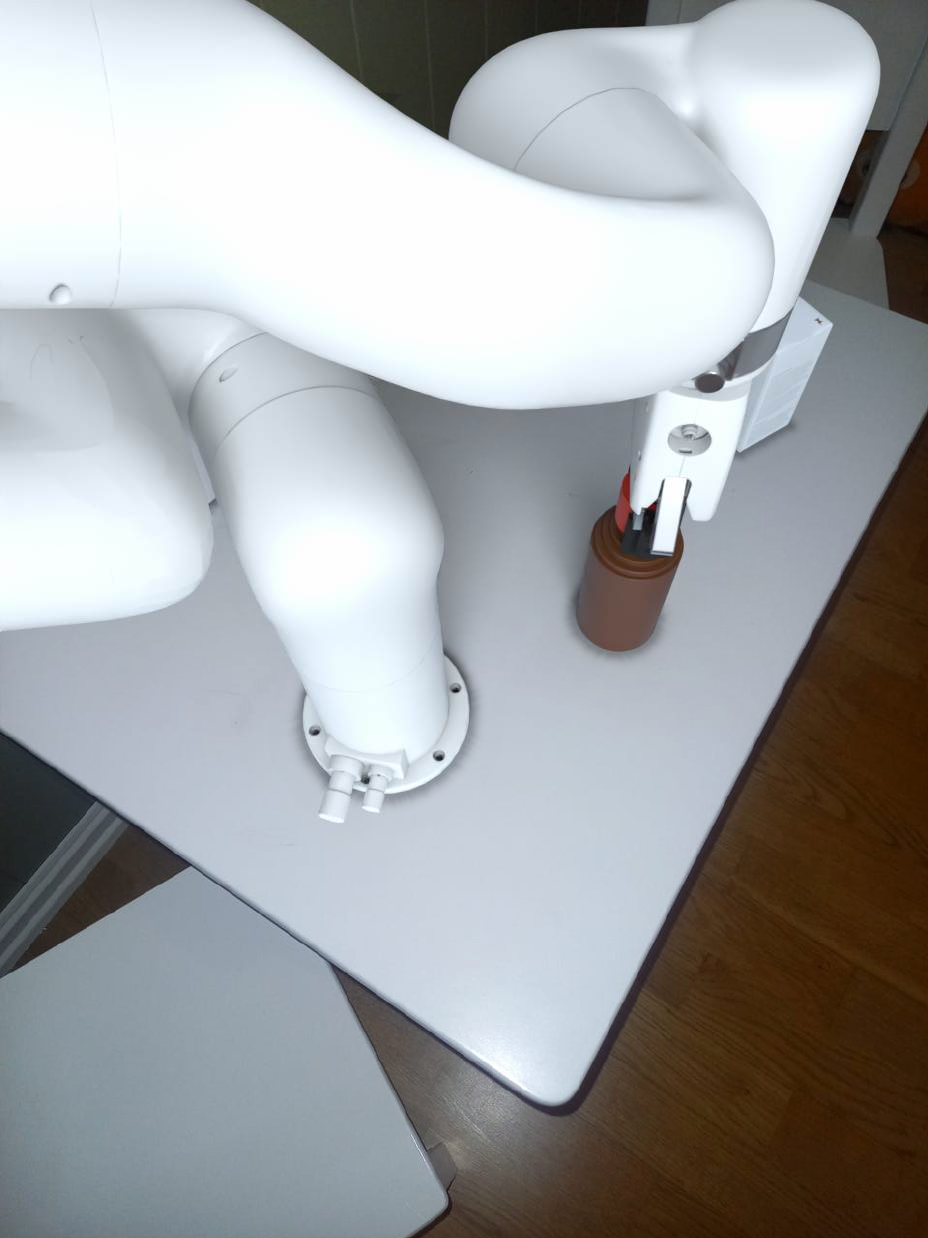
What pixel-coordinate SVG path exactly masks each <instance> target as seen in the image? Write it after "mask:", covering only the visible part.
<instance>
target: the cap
mask: <svg viewBox="0 0 928 1238" xmlns="http://www.w3.org/2000/svg"><path fill="white" fill-rule="evenodd" d="M616 502H617V503H616V505H617V506H616V511H615V520H616V523H617V525H618V527H619V528H620V530H621V531H622V532H623V533H624V531H625V527H626V523H627V519H628V515H629V513H633V512H634V511H633V509H632V508H631V507H630V471H629V472H628V471H627V473H626V474H625V475H624V477H623V479H622V481H621V486H620V490H619V494H618V498H617V501H616ZM647 509H648V510H656V509H657V504H651V505H650V506H649V507H648V508H647Z"/></svg>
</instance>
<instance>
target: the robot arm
mask: <svg viewBox="0 0 928 1238" xmlns="http://www.w3.org/2000/svg"><path fill="white" fill-rule="evenodd" d="M879 58H880V57H879V53H878V49H877V47H876V44H875V42H874V41H873V38H872V37H871V36H870V35H869V33H868V32H867V31H866V30H865V28H864V27H863V26H862V25H861V24H860V23H859V22H858V21H857V20H856V19H854V17H852V16H851V15H849V14H847V13H846V12H844V11H843V10H841V9H839V8H837V7H834V6H832V5H830V4H828V3H825V2H821V1H818V0H733V1H730V2H728V3H725V4H723V5H721V6H719V7H717V8H716V9H714V10H712V11H710V12H707V14H705V15H704V16H703V17H701V18H700V19H698V20H697V21H692V22H684V23H674V24H666V25H646V26H644V25H643V26H627V27H625V26H624V27H589V28H588V27H587V28H578V29H577V28H574V29H563V30H556V31H551V32H546V33H541V34H538V35H535V36H532V37H529V38H526V39H523V40H520V41H518V42H515V43H513V44H511V45H508V46H507V47H506V48H504V49H503V50H500V51H499V52H498V53H496V54H495V55H493V56H492V57H491V58H489V59H488V60H487V61H486V62H484V63H483V64H482V65H481V67H480V68H478V70H477V71H476V72H475V73H474V74H473V75H472V77H471V78H469V80H468V82H467V83H466V84H465V86H464V87H463V89H462V91H461V92H460V95H459V97H458V99H457V100H456V103H455V106H454V109H453V111H452V115H451V118H450V123H449V130H448V139H447V138H445V137H443V136H441V135H439V134H437V133H435V132H434V131H432V130H431V129H429V128H427V127H425V126H424V125H422V124H421V123H420V122H418V121H416V120H415V119H413V118H411V117H410V116H408V115H406V114H404V113H403V112H401V111H400V110H398V109H397V108H396V107H395V106H393V105H392V104H390V103H389V102H387V101H386V100H384V99H383V98H381V97H380V96H379V95H378V94H376V93H374V92H373V91H372V90H370V88H368V87H366V86H365V85H364V84H363V83H361V82H360V81H359V80H358V79H356V77H354V76H352V75H351V74H349V72H347V71H346V70H345V69H343V68H342V67H341V66H339V65H338V63H335V61H333V60H332V59H330V58H329V57H328V56H327V55H326V54H324V53H323V52H322V51H320V50H319V49H318V48H317V47H315V46H314V45H312V44H311V43H310V42H309V41H308V40H306V39H305V38H304V37H303V36H301V35H300V34H298V33H297V32H295V31H294V30H292V29H291V28H290V27H288V26H287V25H286V24H284V23H283V22H281V21H280V20H278V19H277V18H276V17H274V16H272V15H271V14H270V13H268V12H266V11H265V10H263V9H262V8H260V7H258V6H256V5H255V4H253V3H251V2H250V1H249V0H0V632H8V631H18V630H19V631H20V630H27V629H37V628H49V627H50V628H51V627H59V626H68V625H79V624H80V625H81V624H88V623H89V624H90V623H98V622H105V621H111V620H112V621H114V620H119V619H125V618H131V617H137V616H143V615H147V614H151V613H154V612H156V611H160V610H164V609H166V608H169V607H171V606H173V605H175V604H178V602H180V601H182V600H184V599H186V598H187V597H189V596H190V595H191V594H192V593H193V592H194V591H196V590H197V588H199V586H200V585H201V584H202V583H203V581H204V580H205V578H206V577H207V574H208V572H209V570H210V567H211V564H212V559H213V554H214V551H215V549H214V548H215V539H214V534H215V533H214V523H213V517H212V512H211V509H210V505H209V504H210V503H209V504H208V500H207V495H206V492H205V489H204V486H203V482H202V479H201V476H200V473H199V470H198V468H197V465H196V462H195V459H194V456H193V454H192V451H191V448H190V446H197V447H198V450H199V452H200V455H201V458H202V460H203V463H204V465H205V468H206V470H207V473H208V476H209V478H210V481H211V485H212V489H213V492H214V494H215V499H216V502H217V505H218V508H219V509H220V512H221V515H222V517H223V518H222V519H223V520H224V522H225V526H226V528H227V531H228V533H229V536H230V538H231V541H232V543H233V546H234V549H235V551H236V554H237V557H238V559H239V562H240V565H241V567H242V570H243V572H244V575H245V577H246V580H247V582H248V584H249V587H250V589H251V591H252V594H253V595H254V598H255V599H256V602H257V603H258V606H259V607H260V609H261V611H262V612H263V614H264V615H265V617H266V618H267V619H268V620H269V622H270V623H271V624H272V627H273V629H274V630H275V632H276V634H277V637H278V639H279V640H280V642H281V644H282V646H283V648H284V651H285V653H286V655H287V656H288V658H289V660H290V661H291V663H292V666H293V668H294V669H295V671H296V674H297V676H298V678H299V680H300V682H301V684H302V686H303V688H304V690H305V696H304V700H303V708H302V725H303V732H304V733H303V734H304V736H305V739H306V742H307V745H308V747H309V750H310V751H311V753H312V755H313V757H314V758H315V759H316V761H317V763H318V764H319V766H320V767H321V768H322V769H323V770H324V771H325V772H326V773H327V774H328V775H329V776H330V779H329V781H328V782H329V783H328V786H327V789H326V790H325V791H324V792H323V796H322V799H321V803H320V806H319V809H318V813H317V816H318V818H321V819H322V820H325V821H327V822H332V823H337V824H345V822H346V819H347V815H348V812H349V808H350V804H351V802H352V801H351V800H352V798H353V797H352V796H351V795H352V793H353V789H354V790H356V791H359V792H363V793H365V794H364V796H363V799H362V803H361V809H363V810H364V811H367V812H370V813H376V814H377V813H378V814H379V813H381V811H382V807H383V803H384V801H385V797H386V795H388V794H389V795H390V794H398V793H401V792H407V791H411V790H413V789H416V788H418V787H421V786H422V785H425V784H427V783H428V782H430V781H432V779H435V777H437V776H439V775H441V773H442V772H443V771H444V770H445V769H446V768H447V767H448V766H449V765H450V764H451V763H452V762H453V760H455V757H457V755H458V754H459V752H460V751H461V748H462V746H463V743H464V741H465V739H466V737H467V733H468V730H469V729H468V728H469V725H470V700H469V699H470V698H469V693H468V690H467V686H466V682H465V680H464V678H463V676H462V674H461V673H460V671H459V669H458V668H457V666H456V665H455V663H453V661H452V660H451V659H450V658H449V657H448V656H447V655H446V654H444V648H443V638H442V637H443V636H442V627H441V618H440V610H439V603H438V592H437V579H438V574H439V571H440V567H441V563H442V560H443V556H444V552H445V551H444V550H445V533H444V527H443V522H442V518H441V514H440V511H439V509H438V505H437V504H436V500H435V498H434V495H433V494H432V492H431V489H430V487H429V485H428V483H427V480H426V479H425V477H424V474H423V472H422V471H421V469H420V466H419V465H418V463H417V461H416V459H415V457H414V455H413V453H412V451H411V449H410V448H409V445H408V444H407V442H406V441H405V439H404V437H403V435H402V433H401V431H400V429H399V428H398V426H397V423H396V422H395V420H394V419H393V417H392V415H391V413H390V411H389V410H388V408H387V407H386V406H385V403H384V402H383V400H382V398H381V396H380V395H379V393H378V391H377V389H376V386H375V385H374V383H373V382H372V380H371V378H370V376H372V377H375V378H377V379H380V380H382V381H384V382H387V383H391V384H394V385H397V386H399V387H403V388H405V389H408V390H411V391H414V392H416V393H417V392H418V393H420V394H424V395H427V396H429V397H433V398H436V399H439V400H443V401H448V402H452V403H456V404H461V405H466V406H470V407H477V408H486V409H493V410H511V411H512V410H515V411H516V410H517V411H525V410H538V409H539V410H541V409H543V410H544V409H556V408H570V407H583V406H594V405H595V406H596V405H603V404H611V403H619V402H625V401H630V400H633V403H632V414H631V430H630V432H631V433H630V457H629V460H630V461H629V465H628V471H627V473H628V472H629V471H630V507H631V508H632V509H633V511H634V512H633V513H629V515H628V519H627V523H626V527H625V531H624V535H623V539H622V543H621V553H622V554H624V555H633V556H636V557H638V558H641V559H656V558H668V557H670V556H673V553H674V548H675V543H676V537H677V535H678V532H679V529H681V526H682V522H683V518H684V515H685V511H686V508H687V509H688V511H689V515H690V517H691V519H692V521H693V522H708V521H710V519H712V518H713V517H714V516H715V514H716V512H717V510H718V506H719V503H720V501H721V498H722V496H723V495H722V494H723V491H724V489H725V485H726V482H727V479H728V476H729V473H730V470H731V467H732V464H733V461H734V457H735V455H736V451H737V450H736V448H737V445H738V441H739V437H740V434H741V430H742V426H743V422H744V418H745V414H746V409H747V405H748V400H749V395H750V389H751V384H752V379H753V378H754V377H756V376H758V375H759V374H760V373H761V372H763V371H764V370H765V369H766V368H767V367H768V365H769V364H770V363H771V362H772V360H773V358H774V356H775V354H776V352H777V349H778V347H779V343H780V341H781V339H782V336H783V334H784V331H785V329H786V326H787V324H788V321H789V319H790V316H791V314H792V311H793V309H794V306H795V304H796V301H797V299H798V296H800V293H801V290H802V288H803V285H804V283H805V280H806V279H807V276H808V274H809V271H810V268H811V266H812V264H813V261H814V259H815V256H816V254H817V252H818V248H819V246H820V245H821V242H822V239H823V236H824V234H825V231H826V229H827V226H828V224H829V222H830V219H831V216H832V214H833V212H834V210H835V209H834V208H835V206H836V204H837V201H838V198H839V197H840V194H841V191H842V188H843V186H844V183H845V181H846V180H847V179H846V178H847V177H848V174H849V171H850V169H851V166H852V164H853V161H854V159H855V156H856V154H857V151H858V148H859V145H860V144H861V142H862V139H863V136H864V134H865V131H866V128H867V127H868V124H869V121H870V118H871V115H872V112H873V110H874V106H875V104H876V100H877V98H878V95H879V89H880V84H881V83H880V82H881V62H880V59H879ZM651 504H657V509H656V510H648V509H647V508H648V507H649V506H650V505H651ZM455 690H457V691H458V692H454V691H455ZM316 732H319V733H318V734H315V733H316ZM438 757H440V758H442V760H437V759H438ZM366 780H369V781H368V783H366Z"/></svg>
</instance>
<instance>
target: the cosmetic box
mask: <svg viewBox="0 0 928 1238" xmlns="http://www.w3.org/2000/svg"><path fill="white" fill-rule="evenodd" d="M833 326H834V323H833V322H832V321H831V320H829V319H828V318H826V316H825V315H823V314H822V313H820V312H819V311H818V310H817V309H816V308H815V307H813V306H812V305H811V304H810V303H809V302H807V300H805V299H804V298H802V296H800V295H798V299H797V301H796V304H795V306H794V309H793V311H792V314H791V316H790V319H789V321H788V324H787V326H786V329H785V331H784V334H783V336H782V339H781V341H780V343H779V347H778V349H777V352H776V354H775V356H774V358H773V360H772V362H771V363H770V364H769V365H768V367H767V368H766V369H765V370H764V371H763V372H761V373H760V374H759V375H758V376H756V377H754V378H753V379H752V384H751V389H750V395H749V400H748V405H747V409H746V414H745V418H744V422H743V426H742V430H741V434H740V437H739V441H738V445H737V448H736V451H737V452H738V453H742V452H744V451H745V450H747V449H749V448H750V447H752V446H753V445H755V444H757V443H759V442H760V441H762V440H763V439H766V438H768V437H769V436H770V435H773V434H774V433H776V432H778V431H780V430H781V429H783V428H784V427H786V426H788V425H789V424H790V422H791V419H792V417H793V415H794V413H795V411H796V408H797V406H798V404H799V402H800V400H801V398H802V395H803V393H804V391H805V389H806V386H807V384H808V382H809V379H810V377H811V375H812V374H813V373H812V372H813V371H814V369H815V367H816V364H817V362H818V360H819V357H820V355H821V353H822V350H823V349H824V346H825V344H826V342H827V340H828V337H829V335H830V333H831V331H832V328H833Z"/></svg>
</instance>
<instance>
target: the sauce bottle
mask: <svg viewBox="0 0 928 1238" xmlns="http://www.w3.org/2000/svg"><path fill="white" fill-rule="evenodd" d="M616 506H617V504H615V505H612V506H611V507H609V508H608V509H607V510H605V511H604V512H603V514H602V515H600V516H599V517H598V518H597V520H596V521H595V523H594V525H593V527H592V529H591V532H590V533H591V534H590V538H589V542H588V547H587V548H588V549H587V553H586V560H585V564H584V570H583V575H582V579H581V580H582V581H581V586H580V591H579V597H578V602H577V607H576V621H577V625H578V627H579V629H580V631H581V633H582V634H583V636H584V637H585V638H586V639H587V640H588V641H589V642H591V643H592V644H593V645H595V646H597V647H598V648H600V649H603V650H606V651H611V652H629V651H632V650H635V649H638V648H639V647H641V646H642V645H644V644H646V643H647V641H648V640H650V639H651V637H652V636H653V633H654V632H655V629H656V627H657V624H658V621H659V619H660V617H661V614H662V611H663V608H664V606H665V603H666V600H667V597H668V595H669V592H670V591H671V590H670V589H671V587H672V584H673V582H674V579H675V577H676V573H677V571H678V568H679V566H680V563H681V560H682V558H683V554H684V548H685V541H684V536H683V534H682V533H683V532H682V530H681V528H680V529H679V532H678V535H677V537H676V543H675V548H674V553H673V556H670V557H668V558H656V559H641V558H638V557H636V556H633V555H624V554H622V553H621V543H622V539H623V535H624V533H623V532H622V531H621V530H620V528H619V527H618V525H617V523H616V520H615V511H616Z"/></svg>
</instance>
